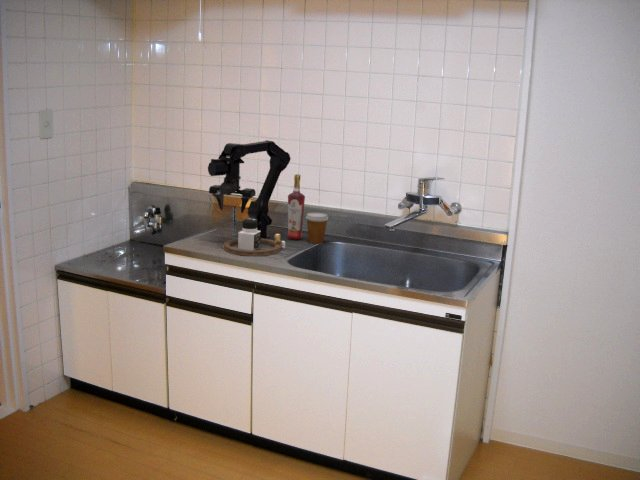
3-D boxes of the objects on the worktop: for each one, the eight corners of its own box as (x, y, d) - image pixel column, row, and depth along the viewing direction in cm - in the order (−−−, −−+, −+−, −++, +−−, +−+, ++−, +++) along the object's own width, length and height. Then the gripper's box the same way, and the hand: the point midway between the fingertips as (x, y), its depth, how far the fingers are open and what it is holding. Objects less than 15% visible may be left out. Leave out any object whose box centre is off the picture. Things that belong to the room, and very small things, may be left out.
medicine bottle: (254, 251, 292) (254, 222, 290) (237, 249, 294) (238, 220, 291) (260, 247, 299) (261, 218, 296) (244, 245, 301) (245, 217, 298)
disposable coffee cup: (328, 244, 309) (330, 217, 306) (306, 244, 307) (307, 216, 304) (324, 239, 318) (326, 212, 315) (303, 239, 316) (304, 212, 313)
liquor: (284, 239, 313) (287, 175, 306) (288, 235, 320) (290, 173, 313) (301, 241, 312) (304, 176, 305) (304, 237, 319) (307, 174, 312)
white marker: (282, 248, 299) (282, 242, 299) (280, 246, 301) (281, 240, 301) (285, 248, 300) (285, 242, 299) (283, 246, 302) (283, 240, 301)
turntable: (219, 242, 303) (219, 229, 302) (272, 240, 311) (273, 227, 309) (230, 256, 282) (230, 243, 281) (287, 254, 290) (288, 241, 288)
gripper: (203, 175, 293) (202, 212, 297) (245, 179, 288) (245, 217, 292) (215, 171, 304) (214, 207, 308) (256, 175, 299) (255, 212, 302)
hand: (231, 211), depth 302 cm, fingers open, 9 cm apart
